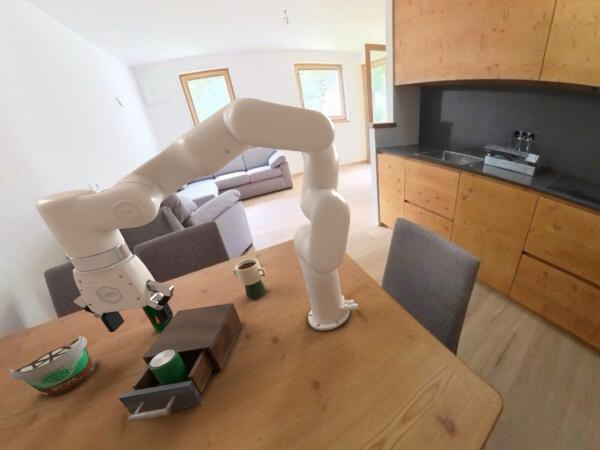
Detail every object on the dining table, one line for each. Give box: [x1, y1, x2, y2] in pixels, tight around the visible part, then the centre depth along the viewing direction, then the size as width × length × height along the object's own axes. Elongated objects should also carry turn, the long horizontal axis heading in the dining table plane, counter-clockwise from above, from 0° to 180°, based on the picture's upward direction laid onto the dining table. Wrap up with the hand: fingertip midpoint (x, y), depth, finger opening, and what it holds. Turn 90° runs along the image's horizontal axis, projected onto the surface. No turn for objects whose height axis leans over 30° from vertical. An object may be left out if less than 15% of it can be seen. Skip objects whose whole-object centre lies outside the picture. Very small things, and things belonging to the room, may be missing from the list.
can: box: [149, 349, 190, 386], centre depth 64 cm, size 5×5×9 cm
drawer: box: [118, 350, 215, 423], centre depth 65 cm, size 18×14×7 cm
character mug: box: [232, 257, 267, 300], centre depth 95 cm, size 11×7×13 cm, turn 88°
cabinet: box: [142, 302, 243, 373], centre depth 75 cm, size 16×15×9 cm
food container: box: [9, 334, 96, 397], centre depth 68 cm, size 12×6×10 cm, turn 148°
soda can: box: [141, 298, 174, 333], centre depth 83 cm, size 5×5×12 cm
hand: (143, 323), depth 59 cm, fingers open, 9 cm apart
